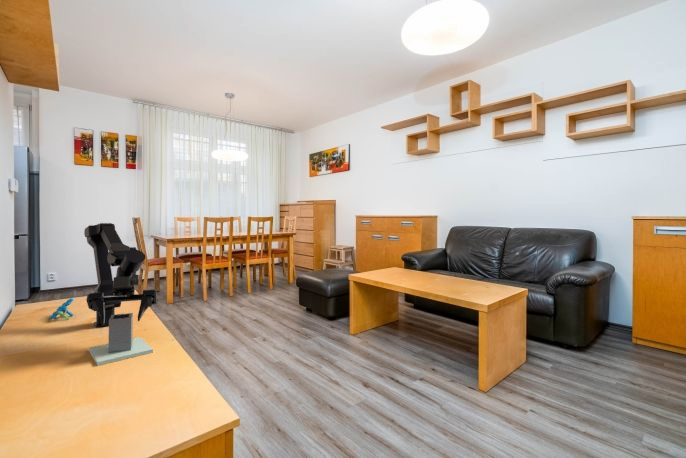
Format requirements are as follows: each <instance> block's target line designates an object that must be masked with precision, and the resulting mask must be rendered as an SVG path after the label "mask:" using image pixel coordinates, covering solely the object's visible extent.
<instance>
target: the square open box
mask: <svg viewBox="0 0 686 458" xmlns="http://www.w3.org/2000/svg"><path fill="white" fill-rule="evenodd" d="M133 317H134V313H132V312H131V313H130V312H129V313H120V314H119V313H118V314H117V313H116V314H115V315H111V317H110V319H109V326H108V343H109V353H115V352H122V351H130V350H131V347H132V338H133V330H134V329H133V323H134V322H133V321H134V319H133Z"/></svg>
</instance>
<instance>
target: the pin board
mask: <svg viewBox="0 0 686 458" xmlns="http://www.w3.org/2000/svg"><path fill="white" fill-rule="evenodd" d="M88 353H89V354H90V356H91V357H92V359H93V360H94V363H95V365H97V366H99V367H100V366H102V365H107V364H111V363H115V362H119V361H123V360H127V359H130V358H136V357H140V356H143V355H148V354H152V353H154V349H153V347H151V345H149V343H148V342H146V341H145V340H144V339H143V338H142V337H141V336H138V337H134V338H133V337H132V347H131V350H130V351H122V352H115V353H109V342H108V343H104V344H100V345H93V346H90V347H88Z"/></svg>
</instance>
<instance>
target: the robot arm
mask: <svg viewBox="0 0 686 458" xmlns="http://www.w3.org/2000/svg"><path fill="white" fill-rule="evenodd" d="M115 225H116V224H114V223H111V222H107V223H106V222H100V223H97V224H95V225H93V224H92V225H91V224H90V225H88V226H86V227H85V228H84V231H83V232H84V237H85V238H86V243H87V244H88V245H89V246H90V247H91V248H92V249H93V257H94V262H95V263H94V264H95V271H96V277H97V278H96V279H97V286H96V287H95V289H94V291H93V292H89V293H88V294H87V295H86V304H87V307H88V309H90V310H92V311H93V312H95V313H96V314H95V315H96V316H95V319H96V320H95V321H94V322H93V325H94V326H95V327H96V328H102V327H109V319H110V317H111V315H116V314H115V313H116V310H115V308H121V305H122V303H125V302H137V301H140V303H139V304H140V305H139V309H138V314H137V322H140V321H141V319H142V317H143V315H144V314H145V313H146V311H147V309H148V308H151V307H152V306H153V305H156V304H157V303H158V302H157V301H158V299H157V293H158V292H157V290H156V289H155V288H151V289H150V288H149V289H142V293H137V294H136V293H135V291H136V286H139V285H140V275H139V274H137V272H138V271H140V269H141V267H142V265H143V263H144V262H145V260H146V255H145V253H144V252H143V251H141V250H139V249H137V247H135V246H134V247H133V246H131V247H130V246H129V245H126V244H124V243H123V241H122V239H121V237H120V236H119V234H118V232H117V230H116V226H115ZM111 267H117V268H116V276H115V277H113V274H112V272H113V271H112V268H111Z"/></svg>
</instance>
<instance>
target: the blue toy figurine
mask: <svg viewBox="0 0 686 458" xmlns="http://www.w3.org/2000/svg"><path fill="white" fill-rule="evenodd" d="M74 300H75V299H74V298H73V297H70V298H69V299H67V300H66V301H65V302H63V303H62V304H61V305H60V306H59V307H58V308H56V311H53V313H51V315H50V316H49V319H50V320H53V319H55V318H56V317H57V316H59V317H61V318H64V319H66V320H70V318H71V317H73V316H74V315H75V314H74V313H72V312H71V311H69V310H68V306H70V305H71V304H72V302H73V301H74ZM66 314H67V315H69V316H67V315H66Z"/></svg>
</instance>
